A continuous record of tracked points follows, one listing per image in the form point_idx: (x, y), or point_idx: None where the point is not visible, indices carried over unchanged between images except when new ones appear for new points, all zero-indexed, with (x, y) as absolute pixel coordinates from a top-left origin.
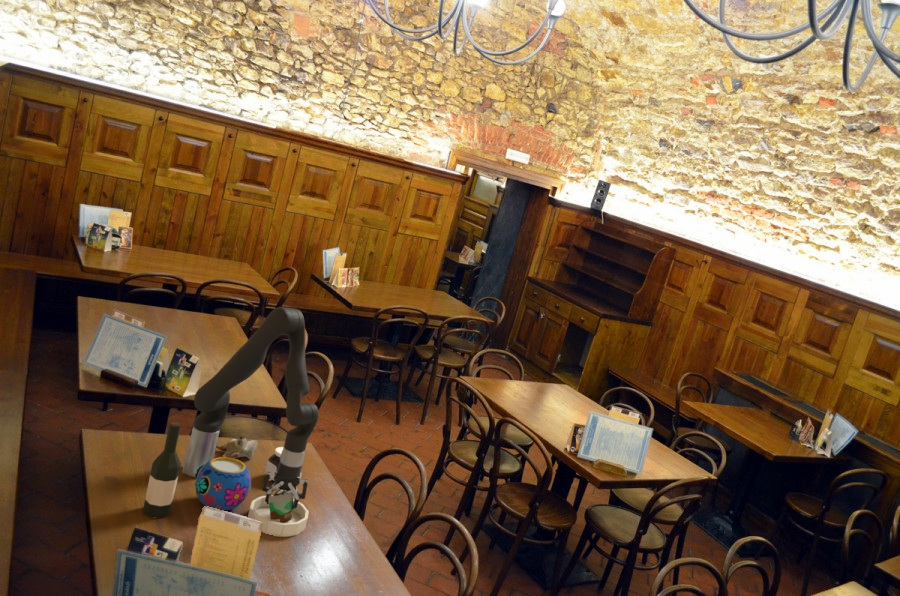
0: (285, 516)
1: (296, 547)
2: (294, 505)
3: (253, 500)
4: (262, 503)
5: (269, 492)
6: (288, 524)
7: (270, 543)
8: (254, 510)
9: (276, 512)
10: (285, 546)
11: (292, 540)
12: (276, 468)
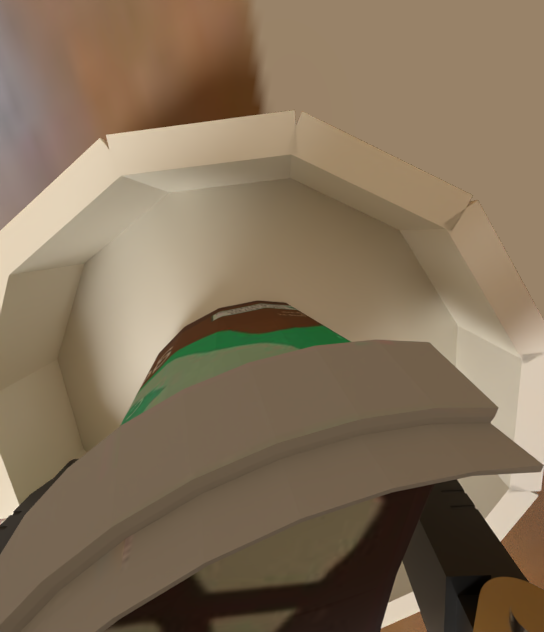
0: (163, 359)
1: (2, 65)
2: (42, 495)
3: (530, 496)
4: None
5: (526, 627)
6: (61, 174)
7: (215, 17)
8: (501, 307)
9: (249, 329)
10: (86, 32)
11: None
12: None
